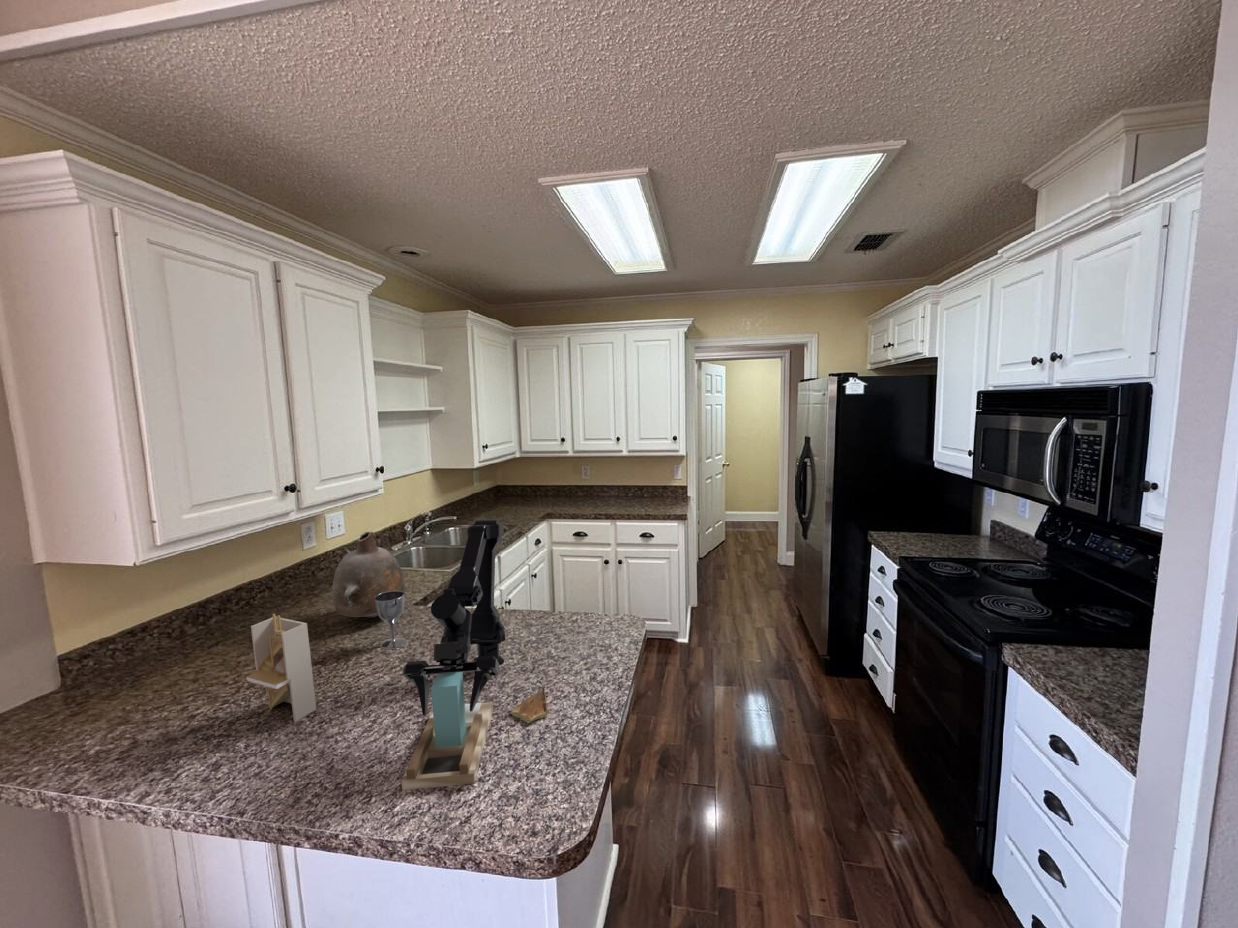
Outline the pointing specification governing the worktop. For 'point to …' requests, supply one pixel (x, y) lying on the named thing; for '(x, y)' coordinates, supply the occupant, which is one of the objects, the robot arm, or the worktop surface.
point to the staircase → (284, 663)
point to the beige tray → (449, 754)
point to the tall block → (448, 709)
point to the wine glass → (390, 614)
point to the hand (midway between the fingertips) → (447, 713)
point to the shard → (532, 708)
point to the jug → (365, 578)
